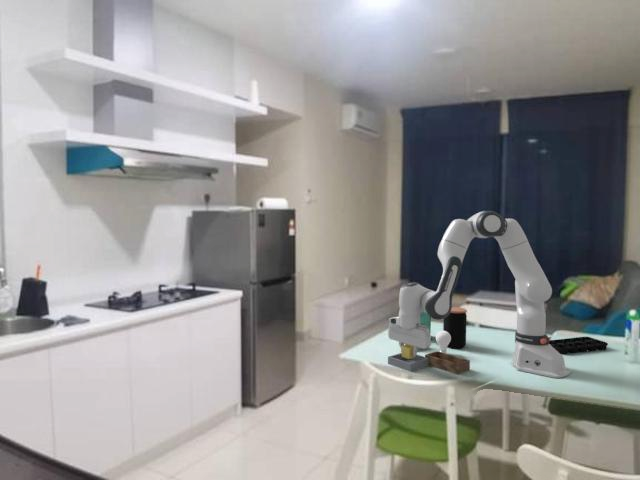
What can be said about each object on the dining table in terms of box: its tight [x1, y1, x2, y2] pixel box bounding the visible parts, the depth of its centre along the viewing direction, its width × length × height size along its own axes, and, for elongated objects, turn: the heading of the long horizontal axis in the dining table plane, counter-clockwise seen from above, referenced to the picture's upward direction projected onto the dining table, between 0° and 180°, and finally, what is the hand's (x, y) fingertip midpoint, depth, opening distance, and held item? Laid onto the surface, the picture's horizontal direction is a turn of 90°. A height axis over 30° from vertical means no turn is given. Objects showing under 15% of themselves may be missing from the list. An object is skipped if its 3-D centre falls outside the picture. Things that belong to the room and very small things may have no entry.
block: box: [401, 344, 415, 359], centre depth 198 cm, size 4×4×4 cm
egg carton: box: [549, 336, 609, 355], centre depth 226 cm, size 18×30×4 cm, turn 120°
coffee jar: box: [442, 306, 468, 350], centre depth 228 cm, size 11×11×18 cm
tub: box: [387, 352, 429, 372], centre depth 199 cm, size 12×12×4 cm
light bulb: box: [435, 330, 451, 354], centre depth 214 cm, size 7×7×11 cm
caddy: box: [424, 350, 471, 375], centre depth 196 cm, size 16×8×4 cm, turn 40°
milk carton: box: [420, 312, 432, 333], centre depth 242 cm, size 9×9×25 cm
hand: (408, 354), depth 199 cm, fingers closed on block, 4 cm apart
